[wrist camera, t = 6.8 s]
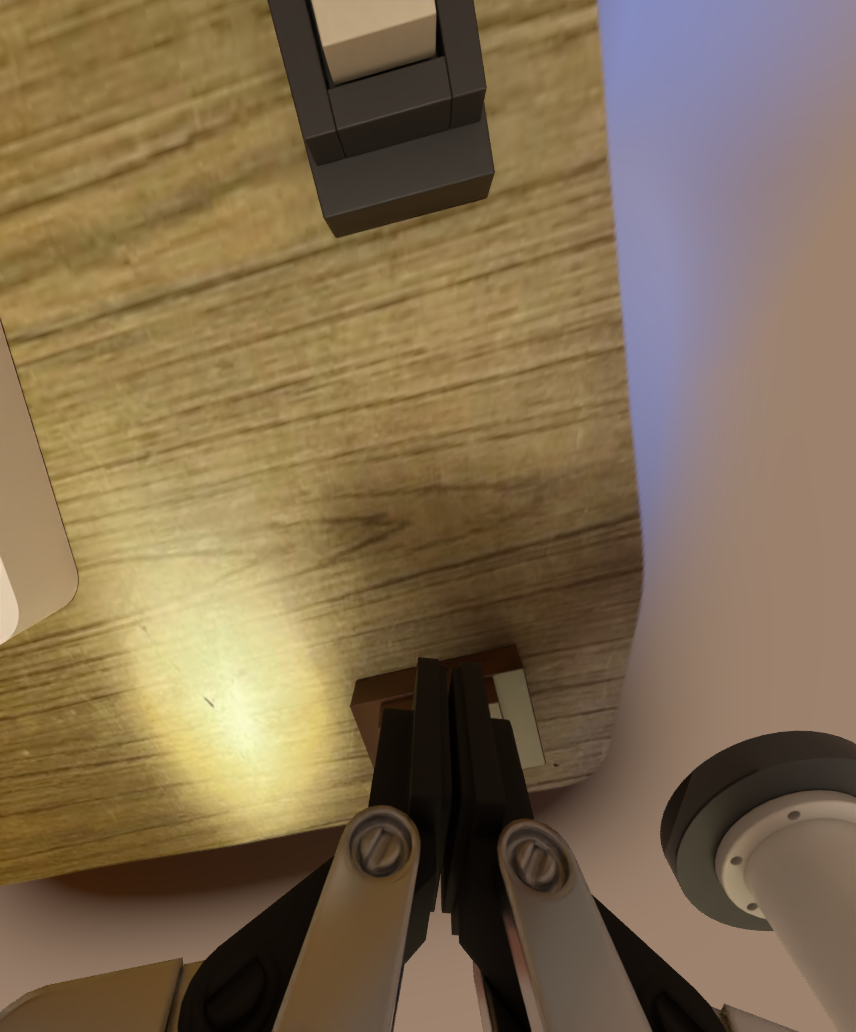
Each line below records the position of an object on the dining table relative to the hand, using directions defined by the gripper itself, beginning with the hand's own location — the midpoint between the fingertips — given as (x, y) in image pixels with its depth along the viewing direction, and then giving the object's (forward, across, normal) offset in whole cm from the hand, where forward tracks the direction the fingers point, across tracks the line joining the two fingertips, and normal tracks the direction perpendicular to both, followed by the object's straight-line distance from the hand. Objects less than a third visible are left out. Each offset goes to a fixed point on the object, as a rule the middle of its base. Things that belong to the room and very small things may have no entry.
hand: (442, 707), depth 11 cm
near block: (+12, +5, -20) cm, 24 cm away
